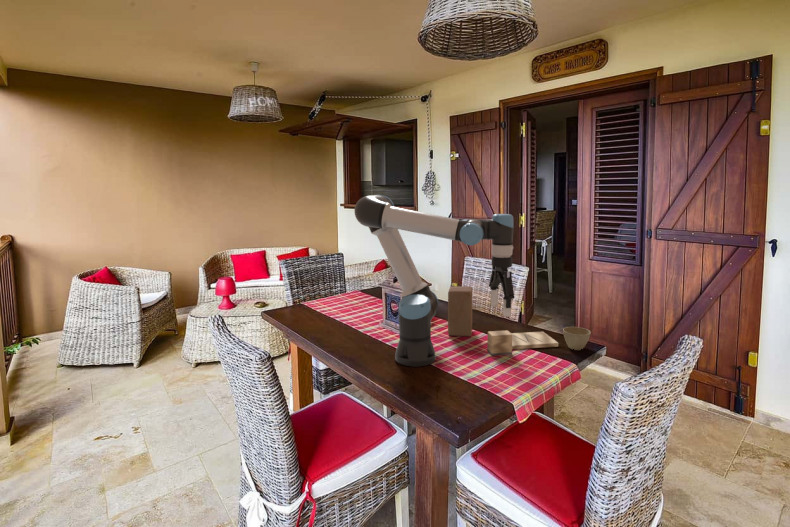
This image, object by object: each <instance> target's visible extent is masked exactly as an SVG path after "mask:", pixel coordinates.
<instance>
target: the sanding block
mask: <svg viewBox="0 0 790 527" xmlns="http://www.w3.org/2000/svg"><path fill="white" fill-rule="evenodd" d="M511 333H512V332H510V331H509V330H507V329H506V330H494V331H492V330H490V331H487V347H486V348H487V350H486V351H487V353H488V354H489V355H490V356H492V357H493V356H494V357H495V356H511V355H513V349H512V334H511Z"/></svg>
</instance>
